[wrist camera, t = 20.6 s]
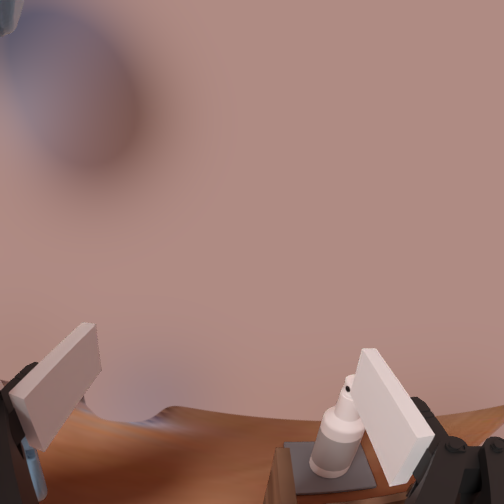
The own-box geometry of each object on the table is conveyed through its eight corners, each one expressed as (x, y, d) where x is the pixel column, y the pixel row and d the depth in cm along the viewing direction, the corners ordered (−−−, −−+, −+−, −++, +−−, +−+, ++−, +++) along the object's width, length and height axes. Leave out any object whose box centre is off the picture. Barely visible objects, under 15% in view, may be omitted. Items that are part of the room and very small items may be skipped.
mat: (289, 495, 37) (290, 493, 37) (283, 444, 49) (284, 441, 49) (375, 487, 37) (376, 485, 37) (358, 441, 49) (359, 439, 49)
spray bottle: (300, 460, 44) (323, 375, 41) (331, 446, 48) (357, 363, 44) (325, 485, 38) (357, 400, 35) (356, 468, 42) (390, 384, 38)
